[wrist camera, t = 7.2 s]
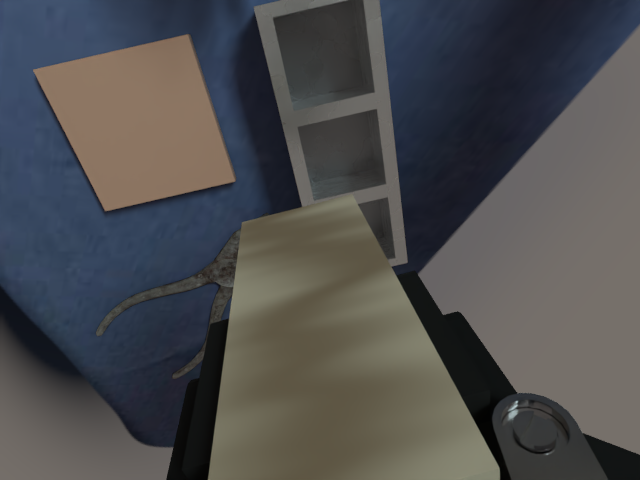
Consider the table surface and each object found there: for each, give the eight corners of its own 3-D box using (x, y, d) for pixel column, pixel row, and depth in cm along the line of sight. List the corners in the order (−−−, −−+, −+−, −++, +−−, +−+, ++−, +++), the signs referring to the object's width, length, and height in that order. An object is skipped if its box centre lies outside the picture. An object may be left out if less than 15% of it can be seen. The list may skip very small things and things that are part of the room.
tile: (190, 34, 26) (187, 34, 25) (236, 177, 30) (235, 181, 30) (39, 68, 26) (32, 69, 25) (109, 207, 30) (105, 211, 30)
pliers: (86, 348, 36) (189, 170, 29) (89, 341, 37) (192, 167, 30) (185, 385, 39) (298, 233, 33) (186, 378, 40) (297, 228, 33)
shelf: (362, -15, 25) (376, -22, 22) (393, 239, 35) (407, 262, 31) (255, 9, 25) (253, 6, 22) (315, 257, 35) (320, 282, 31)
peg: (352, 194, 14) (499, 468, 5) (370, 285, 16) (501, 600, 7) (242, 222, 14) (199, 546, 5) (273, 310, 16) (281, 656, 7)
